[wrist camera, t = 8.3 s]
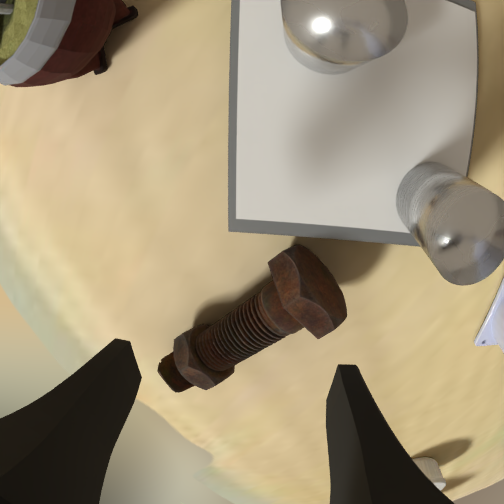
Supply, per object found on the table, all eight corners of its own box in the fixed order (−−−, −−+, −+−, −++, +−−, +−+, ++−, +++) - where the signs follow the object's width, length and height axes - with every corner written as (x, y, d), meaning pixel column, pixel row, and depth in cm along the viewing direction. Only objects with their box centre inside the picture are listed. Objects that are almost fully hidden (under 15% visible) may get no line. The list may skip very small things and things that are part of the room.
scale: (456, -21, 9) (484, -36, 6) (437, 235, 18) (460, 262, 14) (240, -57, 11) (229, -86, 7) (234, 217, 19) (222, 244, 16)
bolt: (178, 339, 27) (312, 241, 20) (208, 387, 26) (354, 305, 19) (130, 360, 22) (277, 248, 15) (164, 416, 21) (334, 335, 14)
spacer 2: (467, 168, 13) (522, 200, 9) (451, 237, 15) (494, 286, 10) (402, 155, 13) (448, 183, 9) (389, 230, 15) (421, 283, 11)
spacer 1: (370, 4, 10) (404, -32, 6) (369, 80, 12) (408, 72, 7) (284, -6, 10) (280, -51, 6) (282, 70, 12) (278, 54, 8)
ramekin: (358, 474, 35) (359, 504, 30) (426, 446, 30) (433, 478, 26) (390, 485, 38) (392, 510, 33) (448, 460, 33) (454, 486, 29)
